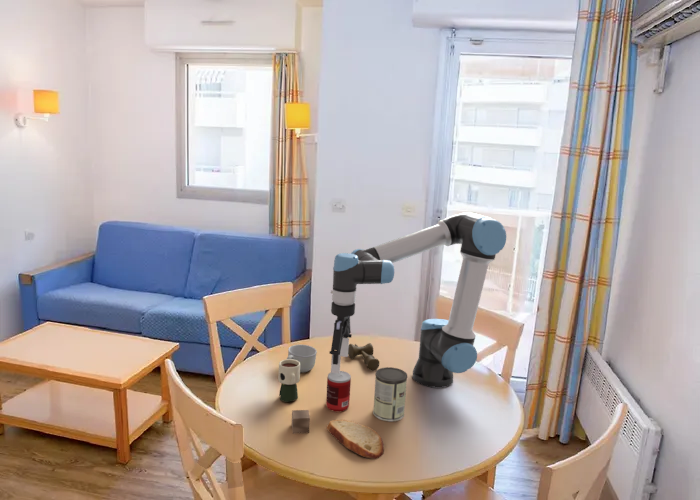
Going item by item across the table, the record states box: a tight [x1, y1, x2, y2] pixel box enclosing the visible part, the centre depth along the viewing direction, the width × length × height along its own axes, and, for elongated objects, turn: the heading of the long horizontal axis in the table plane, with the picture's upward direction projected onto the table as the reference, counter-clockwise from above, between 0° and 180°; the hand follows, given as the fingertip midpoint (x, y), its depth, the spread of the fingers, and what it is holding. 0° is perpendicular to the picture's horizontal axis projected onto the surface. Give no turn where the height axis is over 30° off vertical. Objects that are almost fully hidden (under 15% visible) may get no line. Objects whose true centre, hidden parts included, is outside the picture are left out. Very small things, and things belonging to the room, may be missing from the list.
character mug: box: [277, 358, 301, 403], centre depth 186 cm, size 11×7×13 cm, turn 22°
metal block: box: [291, 409, 311, 434], centre depth 169 cm, size 5×5×5 cm
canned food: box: [325, 370, 352, 413], centre depth 184 cm, size 8×8×11 cm
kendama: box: [348, 342, 380, 371], centre depth 222 cm, size 6×10×20 cm
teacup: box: [286, 344, 318, 373], centre depth 210 cm, size 14×11×8 cm
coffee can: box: [372, 366, 408, 422], centre depth 180 cm, size 10×10×14 cm
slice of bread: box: [326, 419, 385, 460], centre depth 165 cm, size 18×18×4 cm
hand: (339, 364), depth 182 cm, fingers open, 13 cm apart
